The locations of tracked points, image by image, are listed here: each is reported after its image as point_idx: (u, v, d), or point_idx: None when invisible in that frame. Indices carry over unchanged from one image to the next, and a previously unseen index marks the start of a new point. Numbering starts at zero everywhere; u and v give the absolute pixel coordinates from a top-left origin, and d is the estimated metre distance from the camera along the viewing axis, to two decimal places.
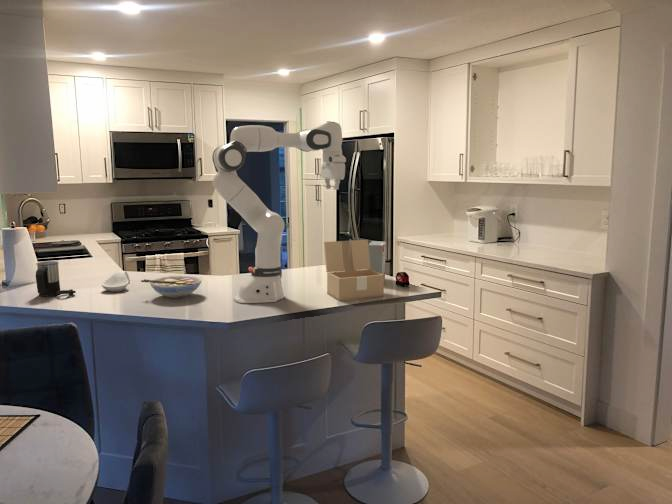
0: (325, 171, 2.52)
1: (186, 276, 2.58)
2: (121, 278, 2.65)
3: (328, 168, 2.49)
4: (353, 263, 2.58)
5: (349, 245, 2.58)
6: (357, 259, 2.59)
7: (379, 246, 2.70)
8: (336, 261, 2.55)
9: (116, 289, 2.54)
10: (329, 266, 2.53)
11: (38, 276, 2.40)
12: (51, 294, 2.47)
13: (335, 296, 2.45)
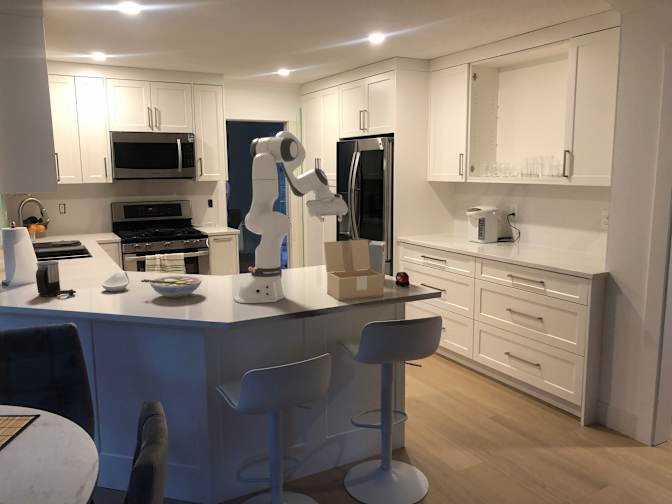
0: (321, 206, 2.75)
1: (186, 276, 2.58)
2: (121, 278, 2.65)
3: (326, 204, 2.77)
4: (353, 263, 2.58)
5: (349, 245, 2.58)
6: (357, 259, 2.59)
7: (379, 246, 2.70)
8: (336, 261, 2.55)
9: (116, 289, 2.55)
10: (329, 266, 2.53)
11: (38, 276, 2.40)
12: (51, 294, 2.47)
13: (335, 296, 2.45)
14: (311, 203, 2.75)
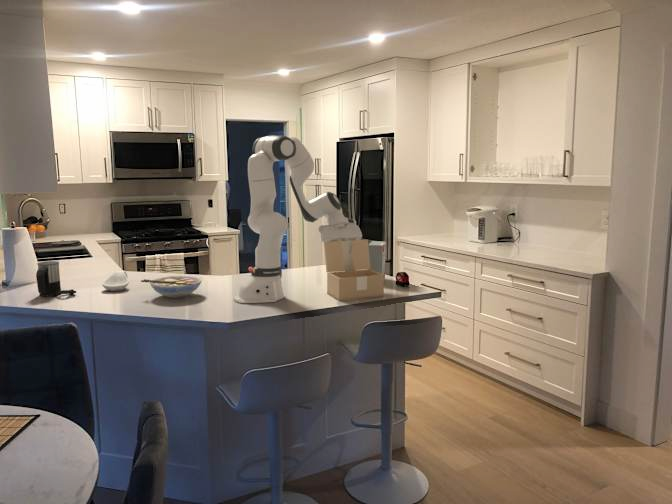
0: (334, 232, 2.60)
1: (186, 276, 2.58)
2: (121, 278, 2.66)
3: (339, 230, 2.62)
4: (353, 263, 2.58)
5: (349, 245, 2.58)
6: (357, 259, 2.59)
7: (379, 246, 2.70)
8: (336, 261, 2.55)
9: (117, 288, 2.56)
10: (329, 266, 2.53)
11: (38, 276, 2.40)
12: (52, 294, 2.47)
13: (335, 296, 2.45)
14: (324, 229, 2.60)
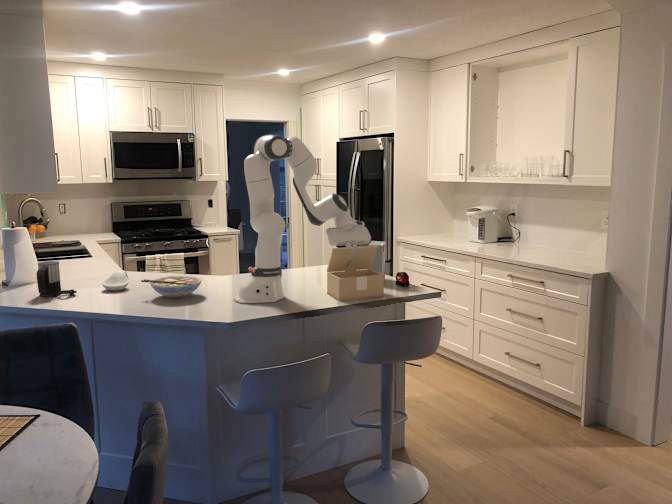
0: (342, 235, 2.52)
1: (186, 276, 2.58)
2: (121, 277, 2.66)
3: (347, 232, 2.54)
4: (355, 265, 2.55)
5: (357, 251, 2.50)
6: (360, 262, 2.55)
7: (379, 246, 2.70)
8: (339, 264, 2.51)
9: (117, 288, 2.56)
10: (331, 268, 2.51)
11: (39, 276, 2.40)
12: (52, 294, 2.47)
13: (335, 296, 2.45)
14: (332, 231, 2.51)
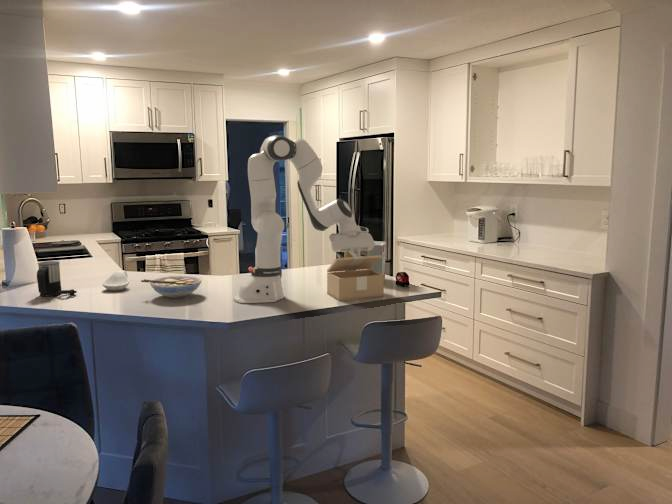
0: (346, 241, 2.48)
1: (186, 276, 2.58)
2: (121, 277, 2.66)
3: (351, 239, 2.50)
4: (356, 267, 2.55)
5: (360, 260, 2.47)
6: (362, 265, 2.54)
7: (379, 246, 2.70)
8: (340, 267, 2.50)
9: (117, 288, 2.56)
10: (332, 269, 2.51)
11: (39, 276, 2.40)
12: (52, 294, 2.47)
13: (335, 296, 2.45)
14: (335, 237, 2.48)
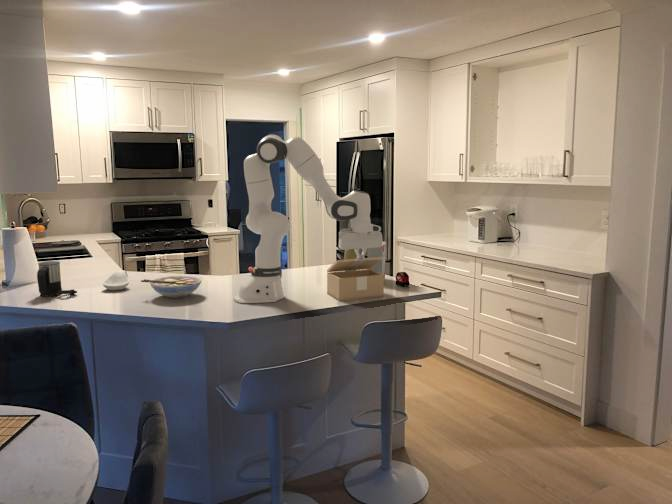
0: (354, 241, 2.40)
1: (186, 276, 2.58)
2: (122, 277, 2.67)
3: (360, 238, 2.41)
4: (356, 268, 2.55)
5: (361, 262, 2.47)
6: (362, 266, 2.54)
7: None
8: (340, 268, 2.50)
9: (117, 288, 2.57)
10: (332, 270, 2.51)
11: (39, 276, 2.40)
12: (52, 294, 2.47)
13: (335, 296, 2.45)
14: (344, 237, 2.38)
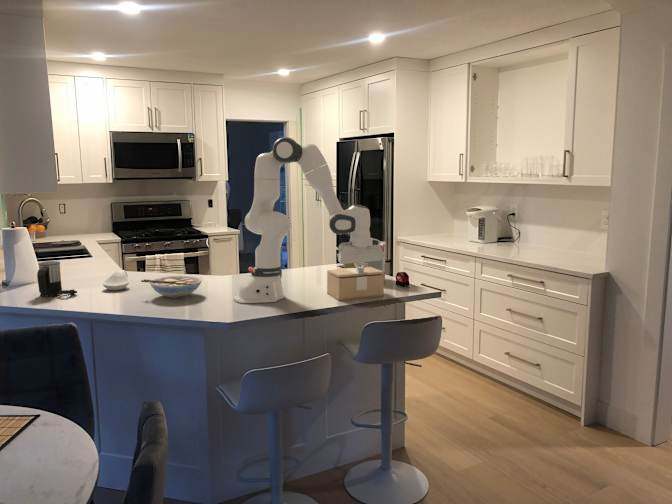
0: (353, 255, 2.41)
1: (186, 276, 2.58)
2: (122, 277, 2.67)
3: (359, 252, 2.42)
4: None
5: None
6: None
7: None
8: None
9: (118, 288, 2.57)
10: None
11: (39, 276, 2.40)
12: (53, 294, 2.47)
13: (335, 296, 2.45)
14: (344, 251, 2.39)
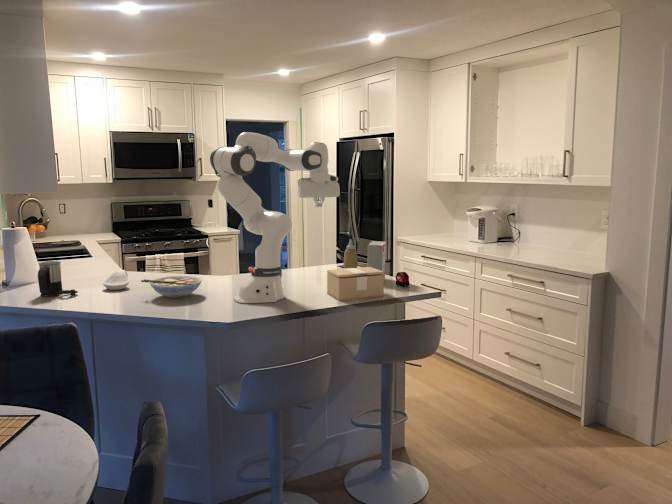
0: (312, 190, 2.56)
1: (186, 276, 2.58)
2: (122, 277, 2.68)
3: (318, 187, 2.57)
4: None
5: None
6: None
7: (379, 246, 2.70)
8: None
9: (118, 287, 2.58)
10: None
11: (40, 276, 2.40)
12: (53, 294, 2.47)
13: (335, 296, 2.45)
14: (303, 185, 2.54)
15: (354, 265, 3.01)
